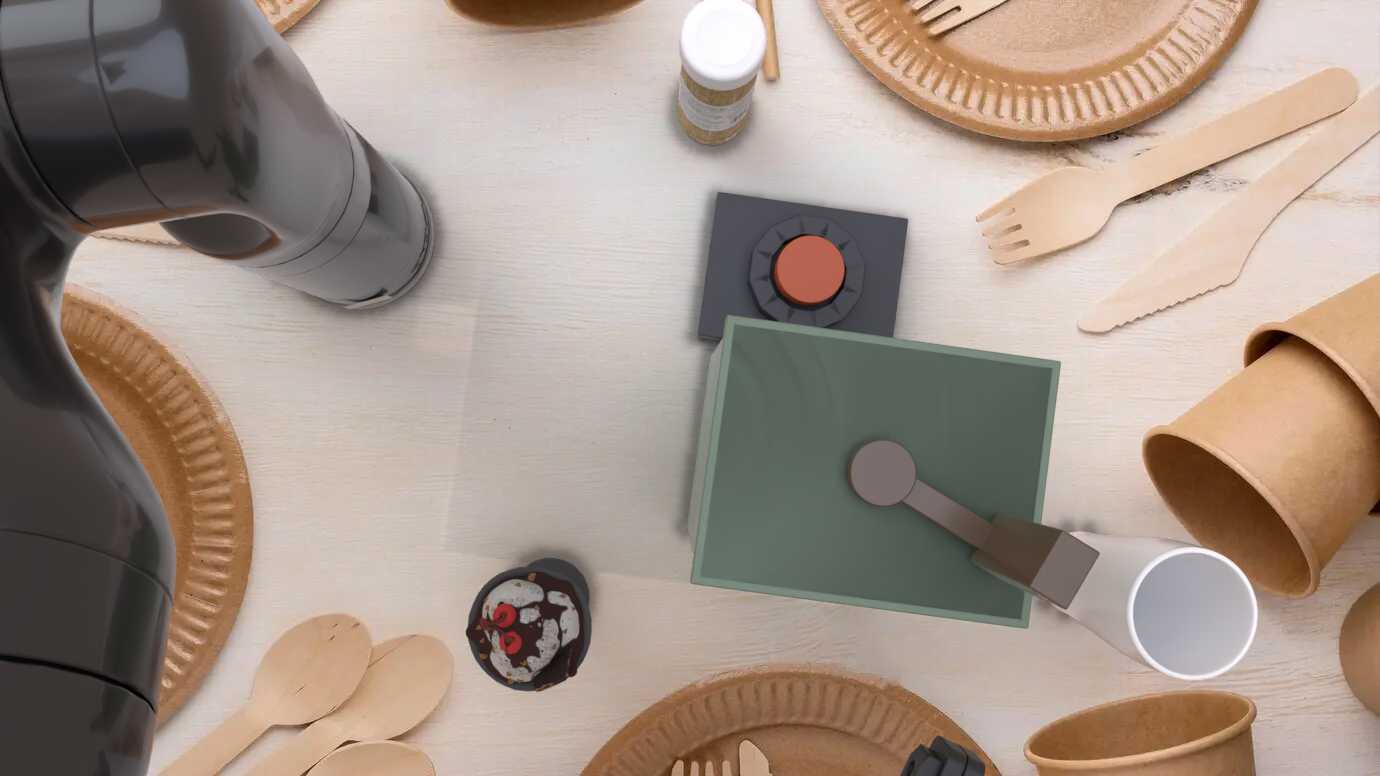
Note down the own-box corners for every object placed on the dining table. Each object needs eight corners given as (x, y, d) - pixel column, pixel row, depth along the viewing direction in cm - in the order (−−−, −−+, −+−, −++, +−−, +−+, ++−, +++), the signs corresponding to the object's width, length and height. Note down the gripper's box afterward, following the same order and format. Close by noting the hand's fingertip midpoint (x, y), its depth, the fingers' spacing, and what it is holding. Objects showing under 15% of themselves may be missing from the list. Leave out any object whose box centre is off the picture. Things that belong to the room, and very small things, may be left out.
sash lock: (833, 482, 45) (867, 494, 37) (867, 426, 45) (908, 427, 37) (997, 583, 45) (1064, 615, 37) (1031, 527, 45) (1104, 548, 38)
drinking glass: (1054, 644, 67) (1166, 707, 52) (1004, 549, 67) (1102, 585, 52) (1147, 594, 67) (1285, 643, 52) (1097, 500, 67) (1220, 521, 52)
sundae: (497, 543, 66) (449, 578, 51) (604, 546, 67) (587, 582, 52) (493, 648, 66) (444, 714, 51) (600, 651, 66) (582, 718, 51)
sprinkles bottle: (717, 63, 68) (730, -26, 54) (762, 117, 68) (786, 42, 54) (662, 107, 68) (661, 29, 54) (707, 162, 68) (717, 97, 54)
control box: (696, 337, 67) (699, 332, 63) (715, 199, 68) (719, 184, 64) (882, 363, 67) (896, 359, 63) (900, 225, 68) (915, 212, 64)
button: (769, 301, 64) (772, 297, 62) (778, 236, 64) (781, 230, 62) (835, 310, 64) (840, 307, 62) (843, 245, 64) (848, 240, 62)
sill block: (681, 531, 67) (690, 584, 45) (706, 350, 67) (727, 314, 45) (909, 562, 67) (1028, 629, 45) (932, 381, 67) (1062, 361, 45)
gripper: (949, 1354, 35) (1170, 869, 35) (585, 1180, 34) (815, 697, 35) (898, 1187, 42) (1081, 790, 43) (599, 1044, 42) (788, 648, 43)
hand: (960, 749), depth 39 cm, fingers closed
